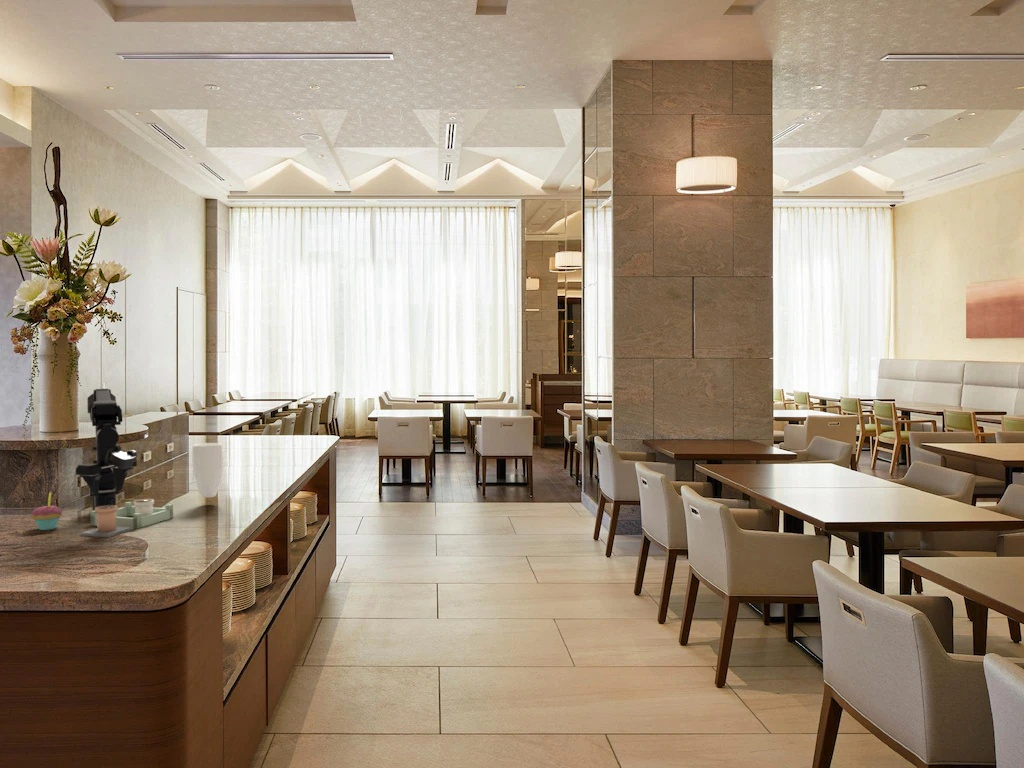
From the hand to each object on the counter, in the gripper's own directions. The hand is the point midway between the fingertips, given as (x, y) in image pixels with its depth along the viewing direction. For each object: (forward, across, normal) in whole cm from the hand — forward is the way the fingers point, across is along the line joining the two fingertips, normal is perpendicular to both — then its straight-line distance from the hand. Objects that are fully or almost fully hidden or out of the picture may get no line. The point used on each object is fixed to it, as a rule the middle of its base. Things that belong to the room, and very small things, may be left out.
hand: (108, 493), depth 244 cm
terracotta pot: (+10, -3, -2) cm, 11 cm away
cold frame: (+12, +12, +2) cm, 17 cm away
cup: (+12, +42, -4) cm, 44 cm away
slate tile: (+11, -3, -2) cm, 12 cm away
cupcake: (+12, -3, +21) cm, 24 cm away
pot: (+12, +12, -2) cm, 17 cm away
